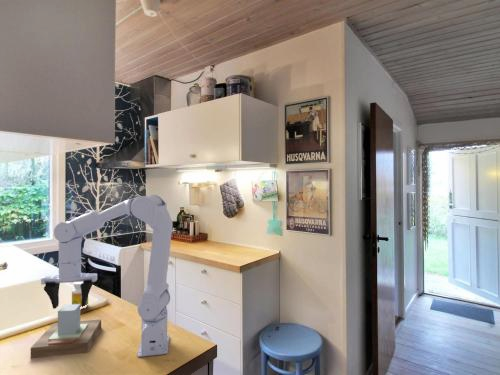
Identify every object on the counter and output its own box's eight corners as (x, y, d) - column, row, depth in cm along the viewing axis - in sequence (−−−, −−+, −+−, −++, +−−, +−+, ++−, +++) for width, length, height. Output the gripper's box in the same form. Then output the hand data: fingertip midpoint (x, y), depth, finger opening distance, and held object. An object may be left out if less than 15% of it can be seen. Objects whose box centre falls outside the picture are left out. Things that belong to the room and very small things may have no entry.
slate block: (75, 333, 86) (75, 310, 86) (57, 335, 85) (57, 311, 85) (80, 326, 90) (80, 303, 90) (64, 327, 89) (64, 305, 89)
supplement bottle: (68, 308, 110) (68, 283, 110) (82, 303, 115) (82, 279, 115) (77, 312, 107) (77, 285, 107) (91, 306, 112) (91, 281, 112)
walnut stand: (87, 352, 82) (87, 340, 82) (30, 358, 79) (30, 346, 79) (101, 327, 96) (101, 318, 96) (53, 332, 93) (53, 322, 93)
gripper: (100, 256, 93) (100, 299, 94) (48, 258, 90) (48, 302, 90) (93, 262, 87) (93, 308, 87) (37, 265, 83) (37, 312, 84)
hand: (70, 306), depth 88 cm, fingers open, 7 cm apart
